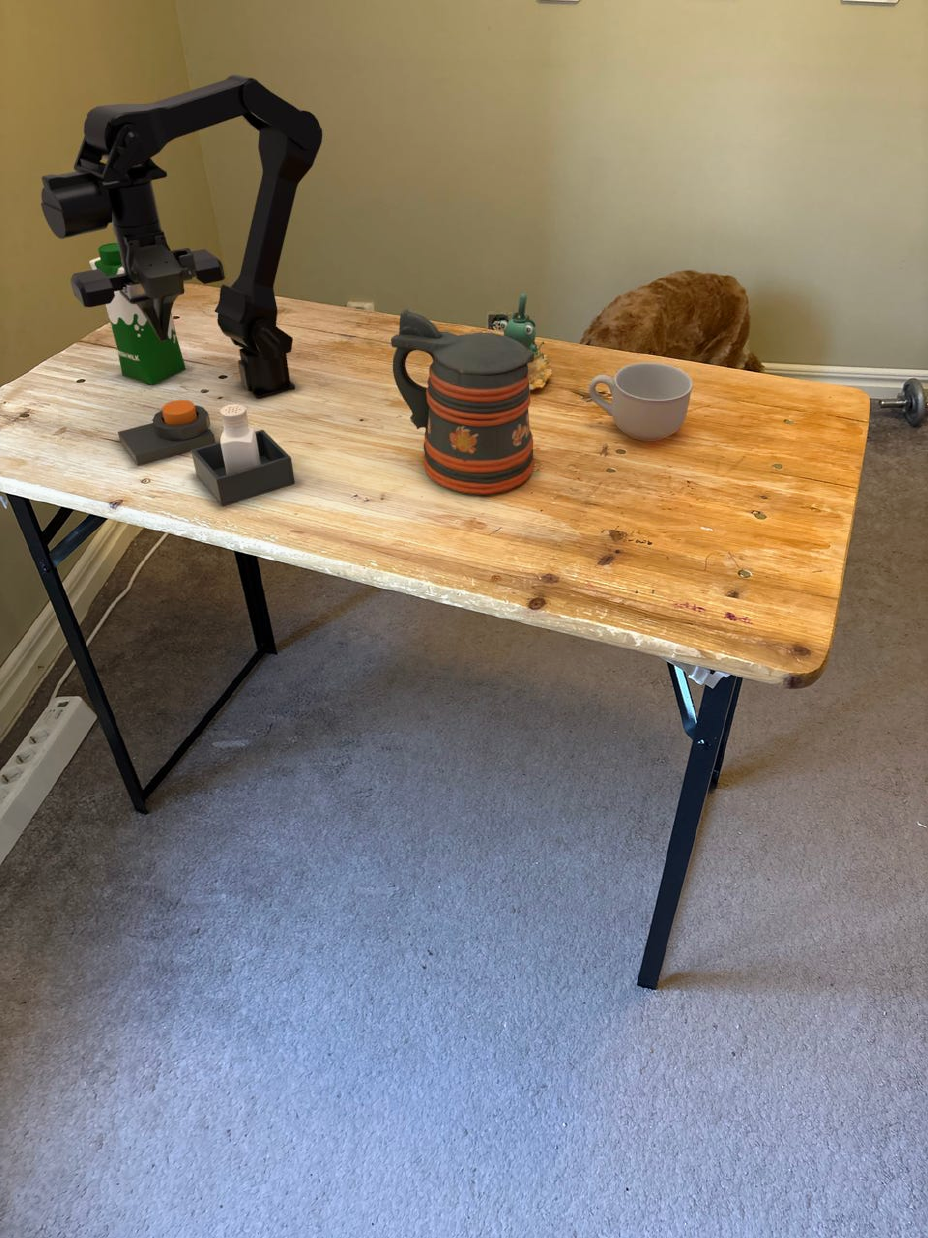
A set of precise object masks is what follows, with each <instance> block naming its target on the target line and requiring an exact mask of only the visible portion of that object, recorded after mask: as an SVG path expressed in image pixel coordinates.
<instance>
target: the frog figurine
mask: <svg viewBox="0 0 928 1238" xmlns="http://www.w3.org/2000/svg"><path fill="white" fill-rule="evenodd" d="M527 298H528V295H527V293H525V292H522V293H520V295H519V303H518V309H517V311H515V312H514V313H513V315H512V318H511V319H510V320H509V321H507V320H506V318H507V316H506V315H505V314H504V313H500V314H498V315H497V316H496V321H497V322H498V321H499V326H500V329H501V330H502V331H503V336H507V337H509V338H512V339H514V340H516V341H518V342H519V343H521V344H522V345H523V346H525V348H526V349H527V350H528V352H534V361H533V362H531V363H528V364H527V365H528V380H529V388H530V392H531V391H534V390H535V389H536V390H540V389H544V387H545V385H546V382H547V381H548V379H550V377H551V375H553V374H552V373H553V370H552V369H551V368H550V367H551V366H550V365H549V364H550V361H548V354H547V353H543V352H541V348H542V346H543V345H544V346H545V342H544V341H541V343H540V345H539V347H538V344H537V343H536V336H537V335H536V331H537V330H536V323H535V322H534V320H533V319H531V318H530V315H528V314H526V313H525V312H526V305H527V300H528V299H527ZM525 314H526V315H525ZM500 319H501V320H500Z"/></svg>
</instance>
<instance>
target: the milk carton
mask: <svg viewBox="0 0 928 1238" xmlns="http://www.w3.org/2000/svg"><path fill="white" fill-rule="evenodd" d="M97 250H98V255H99V257H96V258H93V259H91V260H89V262H88V263H89V265H90V268H91V270H95V269H100V270H101V271H102V272H103V273H104V274H105V275H106V276H112V275H117V274H122V273H125V272H124V268H123V267H122V263H121V255H120V251H119V247H118V243H117V242H111V243H110V242H109V243H105V244H102V245H100V246H99V247H98V248H97ZM114 293H115V297H114V299H113V300H112V302H111V303H109V304H105V307H106V308H105V309H106V312H107V316H108V319H109V322H110V327H111V330H112V334H113V338H114V342H115V345H116V350H117V355H118V360H119V365H120V372H121V376H122V377H125V378H128V379H130V380H134V381H138V382H140V383H144V384H146V385H149V386H154V385H157V384H159V383H161V382H163V381H165V380H167V379H169V378H171V377H174V376H175V375H177V374H179V373H182V372H183V371H186V370H187V368H186V364H185V361H184V357H183V353H182V351H181V347H180V344H179V340H178V336H177V332H176V331H177V330H176V328H175V323H174V319H173V318H174V317H173V314H172V312H171V315H170V322H169V329H168V337H167V340H166V341H162V342H161V341H160V340H159V338H158V337H157V335H156V334H155V332H154V330H153V329H152V327H151V325H150V324H149V322H148V321H147V319H146V317H145V316H144V314H143V313H142V311H141V310H140V308H139V307H138V306H137V304H130V303H129V302H128V301H127V300H126V299H125V298H124V297H123V296H122V295H121V294H120V292H119V291H114ZM154 307H155V306H154Z"/></svg>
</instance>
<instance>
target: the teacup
mask: <svg viewBox="0 0 928 1238" xmlns="http://www.w3.org/2000/svg"><path fill="white" fill-rule="evenodd" d="M599 384H604V385H606V386H607V387H608V389H609V394H610V396H611V402H609V401H608V400H605V399H604V398H602V397H601V396H600V395H599V394H598V392H597V390H596V388H597V386H598V385H599ZM693 389H694V381H693V379H692V377H691V375H689V374H688V373H687V372H686V371H684V370H682V369H681V368H678V367H676V366H674V365H670V364H668V363H667V364H666V363H663V362H653V361H651V362H650V361H649V362H647V361H644V362H643V361H642V362H635V363H632V364H631V363H630V364H628V365H624V366H622V367H621V368H619V369H618V370H617V371H616V373H615V374H614V376H613V378H612V377H611V376H610V375H607V374H598V375H595V376H594V377H593V378H592V379H591V380H590V382H589V384H588V395H589V397H590V399H591V400H592V402H593V403H594V404H596V405H597V406H598V407H600V408H601V409H603V411H606V414H607V415H608V416H609V417H612V421H613V422H614V424H615V426H616V427H617V428H618V429H619V430H621V431H622V433H624V434H625V435H626V436H628V437H630V438H632V439H634V440H637V441H642V442H657V441H660V440H663V439H666V438H667V437H669V436H672V435H673V434H675V433H676V432H678V431H679V430H680V429H681V427H682V426H683V425H684V423H685V421H686V417H687V414H688V410H689V406H690V401H691V394H692V391H693Z"/></svg>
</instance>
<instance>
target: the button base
mask: <svg viewBox="0 0 928 1238" xmlns="http://www.w3.org/2000/svg"><path fill="white" fill-rule="evenodd" d="M194 405H195V409H196V414H197V418H196V419H195V420H194V421H192V422H190V423H186V424H182V425H171V424H167V423H165V421H164V417H163V413H162V409H161V410H159V411H158V412H156V413H155V414H154V416H153V418H152V421H151V423H147V424H146V423H145V424H142V425H139V426H135V427H131V428H128V429H124V430H123V429H122V430H120V431H117V435H118V438H119V442H120V444H121V445H122V447H123V449H125V451H126V452H127V454H128V455H129V456H130V457H131V460H132V461H133V462H134V463H135V465H136V466H137V467H140V466H143V465H147V464H152V463H154V462H158V461H161V460H165V459H168V458H172V457H174V456H175V457H176V456H179V455H183V454H186V453H189V452H190V453H191V450H193V449H196V448H200V447H203V446H207V445H210V444H214V443H216V439H215V434H214V433H213V431H212V430H211V429H210V426H211V421H210V416H209V412H208V411H207V410H206V409H205V407H203V406H201V405H196V404H194Z"/></svg>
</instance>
